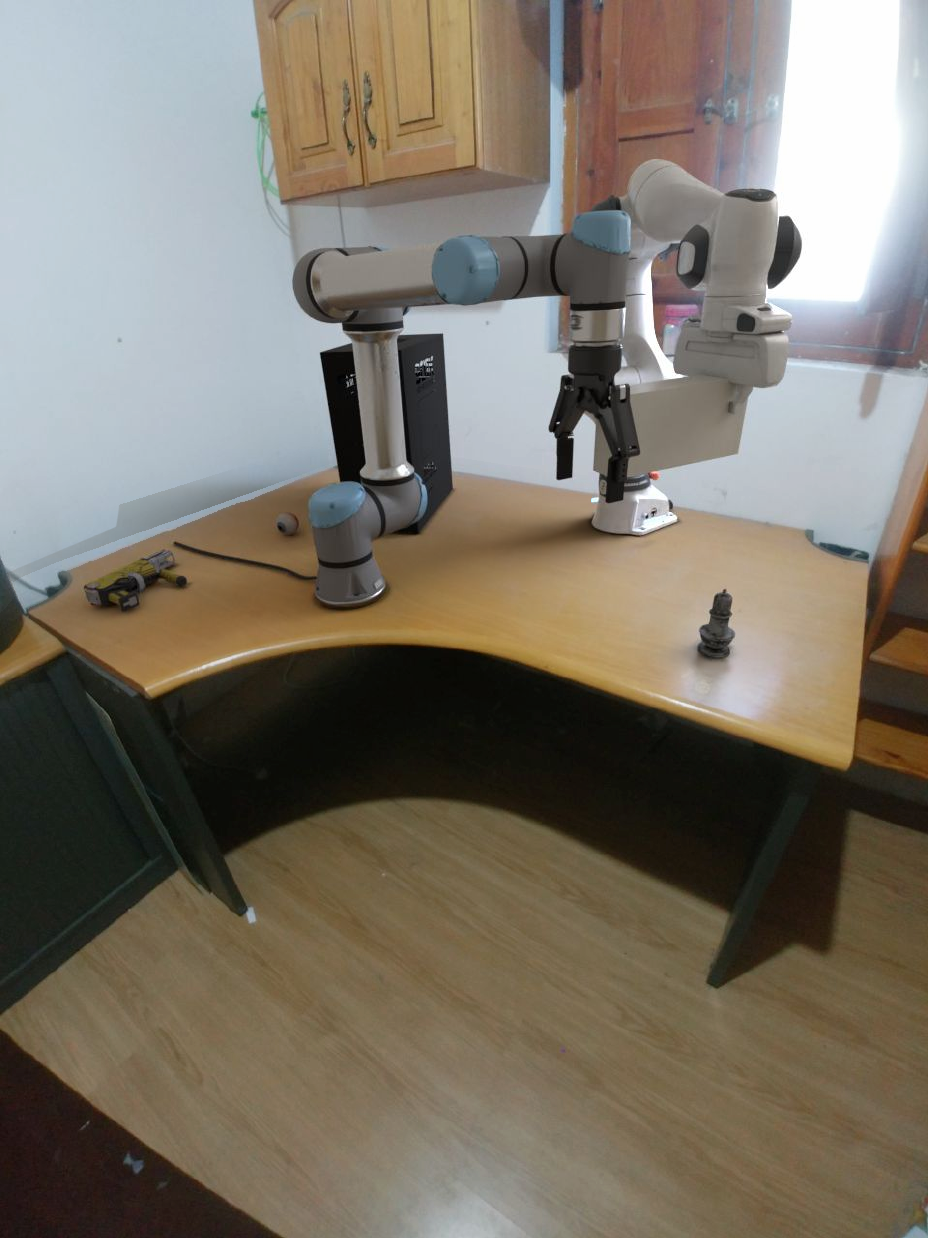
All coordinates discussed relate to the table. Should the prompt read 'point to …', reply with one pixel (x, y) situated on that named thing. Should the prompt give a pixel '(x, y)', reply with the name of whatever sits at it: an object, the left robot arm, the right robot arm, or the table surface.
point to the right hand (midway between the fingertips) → (717, 409)
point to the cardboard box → (420, 415)
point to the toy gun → (132, 581)
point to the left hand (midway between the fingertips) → (587, 489)
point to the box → (678, 424)
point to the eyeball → (287, 523)
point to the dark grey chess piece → (717, 628)
